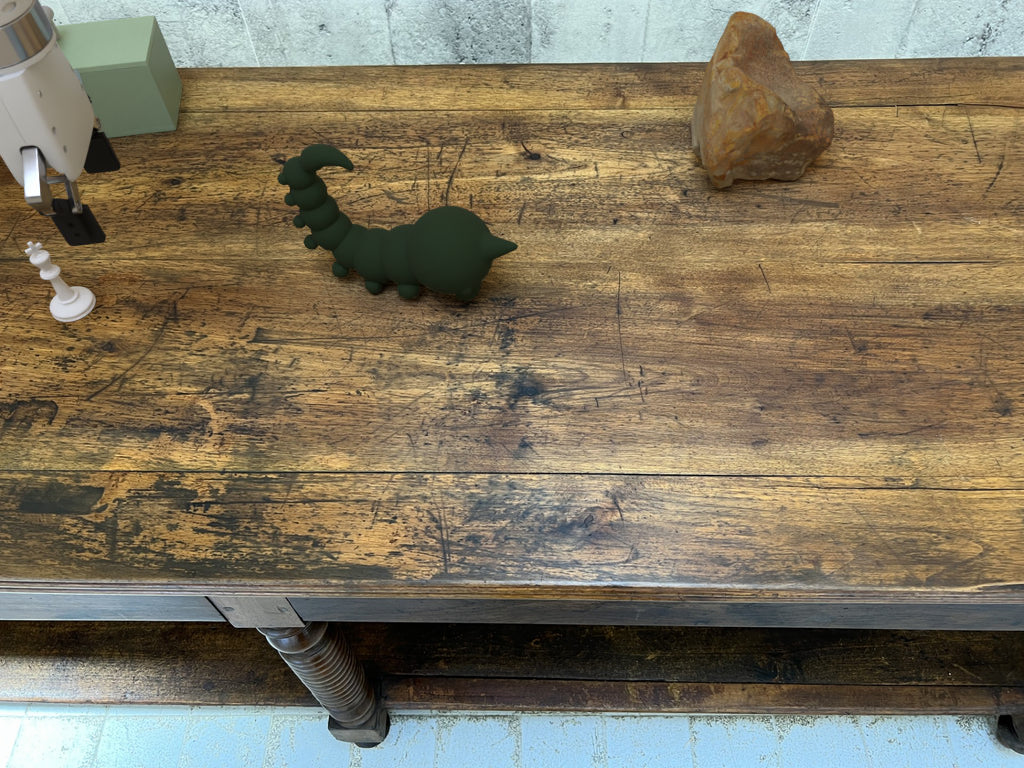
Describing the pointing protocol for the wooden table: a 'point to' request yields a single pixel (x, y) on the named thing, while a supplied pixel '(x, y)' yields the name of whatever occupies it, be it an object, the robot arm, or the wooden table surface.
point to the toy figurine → (391, 236)
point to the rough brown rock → (757, 109)
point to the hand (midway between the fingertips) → (97, 205)
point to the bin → (137, 94)
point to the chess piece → (61, 288)
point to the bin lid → (105, 42)
